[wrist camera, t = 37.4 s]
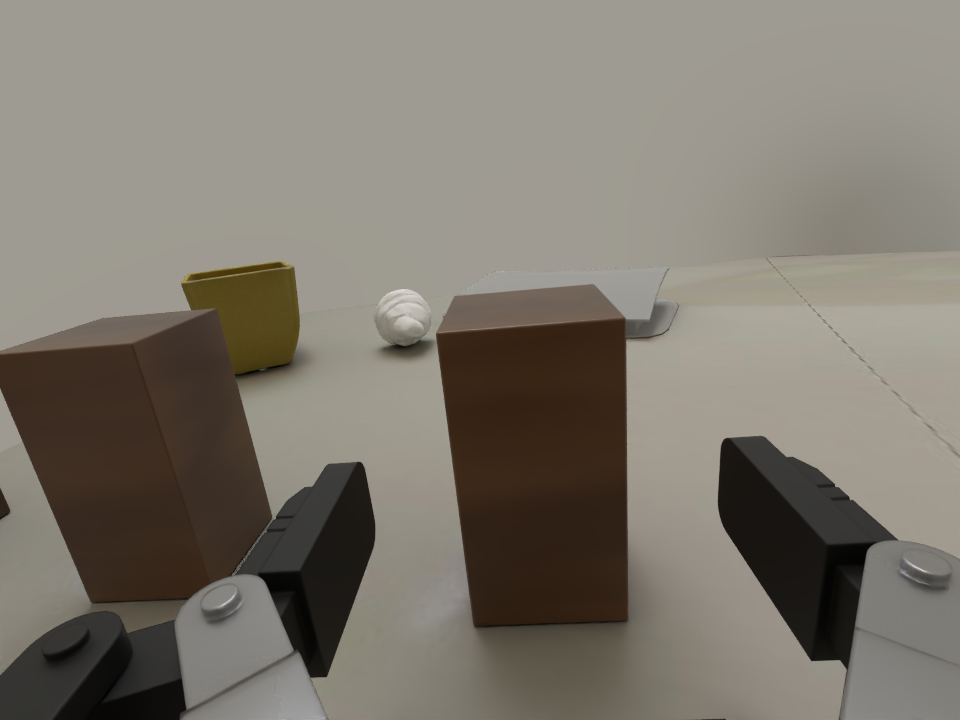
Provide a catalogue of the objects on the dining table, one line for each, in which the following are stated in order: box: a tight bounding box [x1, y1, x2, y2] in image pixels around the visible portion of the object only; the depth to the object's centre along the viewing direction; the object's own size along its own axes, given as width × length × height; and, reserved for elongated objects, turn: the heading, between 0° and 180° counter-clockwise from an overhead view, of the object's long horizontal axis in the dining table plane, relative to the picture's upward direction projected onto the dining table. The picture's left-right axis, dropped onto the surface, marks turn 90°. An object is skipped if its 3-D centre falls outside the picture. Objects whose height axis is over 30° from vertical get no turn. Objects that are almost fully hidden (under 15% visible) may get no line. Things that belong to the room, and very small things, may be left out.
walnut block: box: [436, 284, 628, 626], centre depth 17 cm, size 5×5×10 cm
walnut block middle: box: [0, 308, 272, 602], centre depth 20 cm, size 5×5×10 cm
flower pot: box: [181, 261, 300, 374], centre depth 47 cm, size 9×9×9 cm
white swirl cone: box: [374, 289, 432, 346], centre depth 48 cm, size 6×6×5 cm
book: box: [443, 267, 679, 338], centre depth 54 cm, size 15×23×4 cm, turn 64°
